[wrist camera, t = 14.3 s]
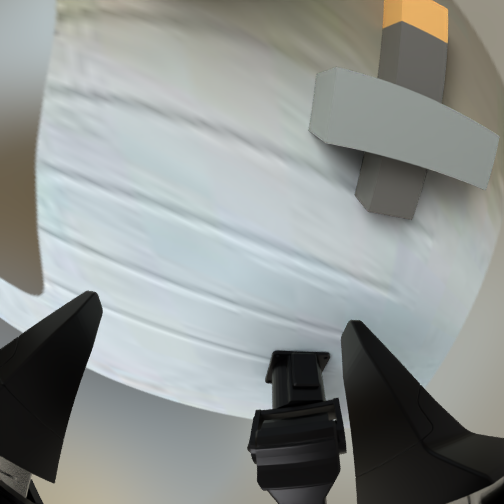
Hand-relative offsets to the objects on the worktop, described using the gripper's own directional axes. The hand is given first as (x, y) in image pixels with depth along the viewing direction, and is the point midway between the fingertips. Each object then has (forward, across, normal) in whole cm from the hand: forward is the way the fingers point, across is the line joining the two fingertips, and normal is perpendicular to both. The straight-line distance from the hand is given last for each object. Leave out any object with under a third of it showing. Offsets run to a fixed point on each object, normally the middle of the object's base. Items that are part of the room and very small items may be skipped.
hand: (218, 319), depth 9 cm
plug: (+12, -10, -9) cm, 18 cm away
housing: (+12, -10, -7) cm, 17 cm away
